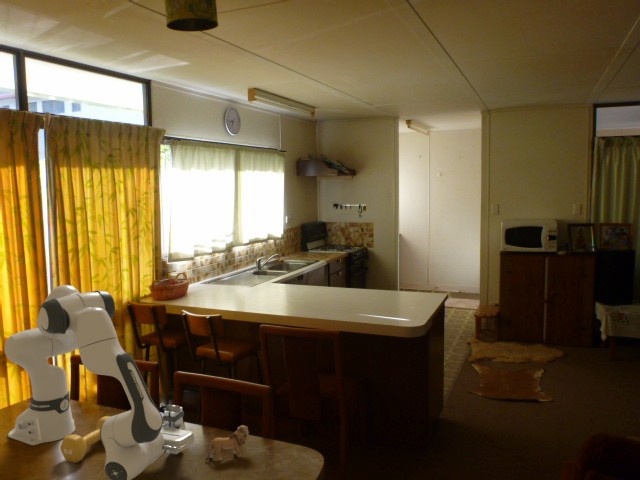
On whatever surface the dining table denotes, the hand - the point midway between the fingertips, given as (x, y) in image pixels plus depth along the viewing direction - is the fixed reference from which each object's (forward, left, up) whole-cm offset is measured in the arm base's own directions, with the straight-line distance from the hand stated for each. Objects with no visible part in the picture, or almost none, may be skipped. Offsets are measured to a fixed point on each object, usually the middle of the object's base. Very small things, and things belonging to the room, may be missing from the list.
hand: (175, 425), depth 173 cm
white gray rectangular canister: (0, -1, -8) cm, 8 cm away
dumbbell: (-29, -6, -10) cm, 31 cm away
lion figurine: (+18, +3, -9) cm, 20 cm away
